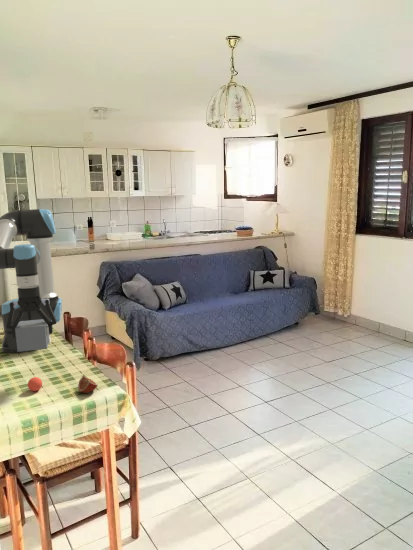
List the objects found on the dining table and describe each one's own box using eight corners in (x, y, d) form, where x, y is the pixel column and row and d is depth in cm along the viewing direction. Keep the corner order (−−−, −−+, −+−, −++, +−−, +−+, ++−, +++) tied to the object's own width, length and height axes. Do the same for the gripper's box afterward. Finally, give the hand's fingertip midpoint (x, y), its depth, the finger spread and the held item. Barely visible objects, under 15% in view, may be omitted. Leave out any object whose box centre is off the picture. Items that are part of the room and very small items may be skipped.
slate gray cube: (22, 343, 174) (19, 321, 172) (49, 340, 176) (47, 318, 175) (17, 351, 164) (15, 328, 163) (47, 348, 166) (44, 325, 165)
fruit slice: (75, 389, 165) (74, 376, 164) (93, 385, 169) (92, 372, 168) (82, 398, 158) (81, 384, 157) (101, 393, 162) (99, 380, 161)
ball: (26, 387, 161) (28, 394, 164) (40, 385, 162) (42, 392, 166) (27, 375, 164) (29, 383, 168) (41, 373, 166) (43, 381, 169)
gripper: (-8, 290, 160) (-1, 350, 164) (59, 285, 165) (64, 343, 169) (-3, 287, 167) (3, 344, 171) (61, 282, 172) (66, 338, 176)
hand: (34, 344), depth 170 cm, fingers closed on slate gray cube, 10 cm apart
